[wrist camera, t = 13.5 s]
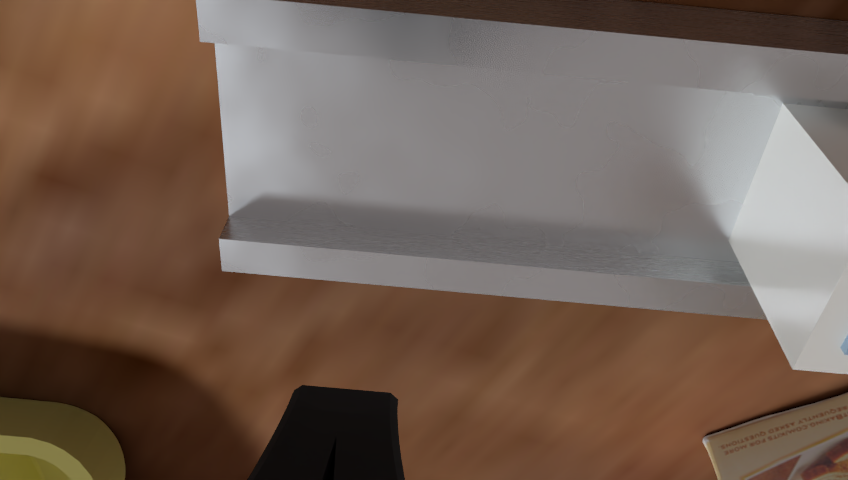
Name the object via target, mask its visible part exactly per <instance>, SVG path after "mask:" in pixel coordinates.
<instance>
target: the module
mask: <svg viewBox="0 0 848 480" xmlns="http://www.w3.org/2000/svg"><path fill="white" fill-rule="evenodd" d="M728 241H729V243H730V245H731V247H732V249H733V251H734V253H735V255H736V257H737V259H738V261H739V263H740V265H741V267H742V269H743V271H744V273H745V275H746V277H747V279H748V281H749V283H750V285H751V287H752V289H753V291H754V293H755V295H756V297H757V299H758V301H759V303H760V305H761V307H762V309H763V311H764V313H765V315H766V317H767V319H768V321H769V323H770V325H771V327H772V329H773V331H774V333H775V335H776V337H777V339H778V341H779V343H780V345H781V347H782V349H783V351H784V353H785V355H786V357H787V359H788V361H789V363H790V365H791V367H792V369H794V370H805V371H816V372H828V373H839V374H848V109H839V108H829V107H818V106H807V105H797V104H786V103H783V104H782V107H781V109H780V112H779V114H778V117H777V119H776V122H775V124H774V127H773V129H772V132H771V134H770V137H769V139H768V142H767V145H766V147H765V150H764V152H763V155H762V157H761V160H760V162H759V165H758V167H757V170H756V172H755V175H754V177H753V180H752V182H751V185H750V187H749V190H748V193H747V195H746V198H745V200H744V203H743V205H742V208H741V210H740V213H739V215H738V218H737V220H736V223H735V225H734V228H733V230H732V233H731V235H730V238H729V240H728Z"/></svg>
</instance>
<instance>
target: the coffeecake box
mask: <svg viewBox="0 0 848 480" xmlns="http://www.w3.org/2000/svg"><path fill="white" fill-rule="evenodd" d="M703 444H704V445H705V447H706V449H707V451H708V453H709V456H710V458H711V461H712V463H713V466H714V469H715V472H716V475H717V478H718V480H848V393H845V394H842V395H839V396H836V397H832V398H829V399H825V400H822V401H819V402H816V403H813V404H809V405H805V406H801V407H797V408H794V409H790V410H787V411H784V412H780V413H776V414H772V415H768V416H765V417H762V418H759V419H755V420H752V421H749V422H747V423H744V424H741V425H738V426H735V427H732V428H729V429H726V430H723V431H720V432H717V433H714V434H711V435H708V436H705V437H704V438H703Z"/></svg>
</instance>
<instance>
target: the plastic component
mask: <svg viewBox="0 0 848 480" xmlns="http://www.w3.org/2000/svg"><path fill="white" fill-rule="evenodd" d="M0 480H125V461H124V456H123V453H122V450H121V447H120V444H119V442H118V440H117V438H116V437H115V435H114V434H113V432H112V431H111V430H110V429H109V428H108V426H107V425H106V424H105V423H104V422H103V421H101V420H100V419H99V418H98V417H97V416H95V415H93V414H91V413H89V412H87V411H85V410H83V409H80V408H78V407H75V406H72V405H68V404H63V403H58V402H49V401H38V400H28V399H17V398H6V397H0Z"/></svg>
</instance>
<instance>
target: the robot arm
mask: <svg viewBox="0 0 848 480" xmlns="http://www.w3.org/2000/svg"><path fill="white" fill-rule="evenodd" d="M397 405H398V399H397V398H395V397H394V396H393V395H392V394H391V393H386V392H374V391H363V390H351V389H340V388H328V387H317V386H305V385H302V386H300V387H299V388H297V389H296V390H294V392H293V394H292V397H291V399H290V402H289V404H288V406H287V408H286V410H285V412H284V414H283V417H282V419H281V421H280V423H279V425H278V427H277V429H276V430H275V432H274V434H273V436H272V438H271V440H270V442H269V443H268V445H267V447H266V449H265V450H264V452H263V454H262V456H261V457H260V459H259V461H258V463H257V464H256V466H255V468H254V470H253V471H252V473H251V475H250V476H249V478H248V479H247V480H405V478H404V472H403V466H402V460H401V453H400V445H399V435H398V419H397Z"/></svg>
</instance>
